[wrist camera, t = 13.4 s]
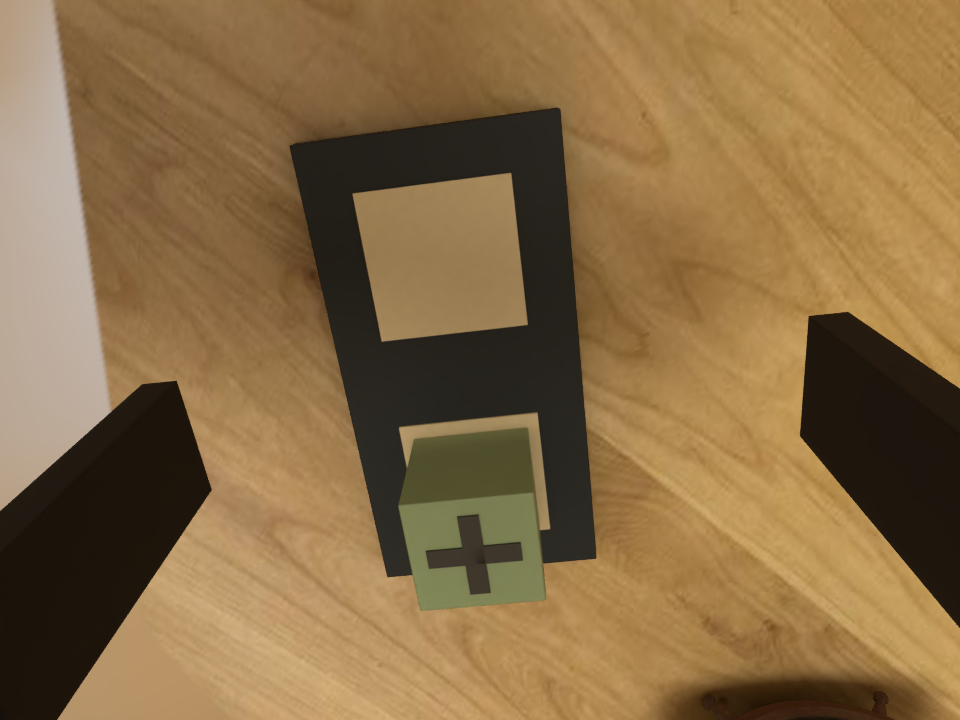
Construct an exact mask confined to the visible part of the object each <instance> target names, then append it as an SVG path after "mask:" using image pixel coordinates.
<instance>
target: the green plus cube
mask: <svg viewBox="0 0 960 720" xmlns="http://www.w3.org/2000/svg"><path fill="white" fill-rule="evenodd" d="M398 507H399V512H400V517H401V521H402V526H403V531H404V536H405V541H406V545H407V550H408V555H409V560H410V564H411V569H412V574H413V579H414V583H415V588H416V593H417V598H418V603H419V607H420V610H421V611H426V610H438V609H450V608H462V607H473V606H485V605H497V604H508V603H520V602H532V601H544V600H546V589H545V579H544V568H543V557H542V546H541V535H540V524H539V516H538V507H537V499H536V490H535V482H534V473H533V465H532V456H531V448H530V439H529V430H528V428H519V429H510V430H500V431H490V432H481V433H471V434H461V435H452V436H442V437H433V438H423V439H415V440H414V441H413V445H412V450H411V454H410V458H409V462H408V467H407V471H406V475H405V480H404V484H403V488H402V493H401V497H400V501H399V506H398Z"/></svg>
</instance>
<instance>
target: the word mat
mask: <svg viewBox="0 0 960 720" xmlns="http://www.w3.org/2000/svg"><path fill="white" fill-rule="evenodd" d="M290 150H291V155H292V159H293V164H294V168H295V172H296V177H297V181H298V186H299V190H300V194H301V199H302V203H303V208H304V212H305V216H306V221H307V225H308V230H309V234H310V238H311V243H312V247H313V252H314V256H315V260H316V265H317V269H318V274H319V278H320V282H321V287H322V291H323V296H324V300H325V305H326V309H327V313H328V318H329V322H330V327H331V331H332V335H333V340H334V344H335V349H336V353H337V357H338V362H339V366H340V371H341V375H342V379H343V384H344V388H345V393H346V397H347V401H348V406H349V410H350V415H351V419H352V423H353V428H354V432H355V437H356V441H357V445H358V450H359V454H360V459H361V463H362V467H363V472H364V476H365V481H366V485H367V489H368V494H369V498H370V503H371V507H372V512H373V516H374V520H375V525H376V529H377V534H378V538H379V542H380V547H381V551H382V556H383V560H384V564H385V569H386V573H387V577H396V576H407V575H413V574H412V569H411V564H410V560H409V555H408V550H407V545H406V541H405V536H404V531H403V526H402V521H401V517H400V512H399V507H398V506H399V501H400V497H401V493H402V488H403V484H404V480H405V475H406V471H407V467H408V462H409V458H410V454H411V450H412V445H413V441H414V440H415V439H423V438H433V437H442V436H452V435H461V434H471V433H481V432H490V431H500V430H510V429H519V428H528V430H529V439H530V448H531V456H532V465H533V473H534V482H535V490H536V499H537V507H538V516H539V524H540V535H541V546H542V557H543V563H553V562H564V561H576V560H587V559H596V546H595V534H594V521H593V509H592V497H591V484H590V472H589V459H588V447H587V434H586V422H585V410H584V397H583V385H582V372H581V360H580V347H579V335H578V322H577V310H576V298H575V285H574V273H573V260H572V248H571V235H570V223H569V211H568V198H567V186H566V173H565V161H564V148H563V136H562V124H561V111H560V109H559V108H551V109H544V110H537V111H529V112H522V113H515V114H507V115H500V116H493V117H485V118H478V119H471V120H464V121H456V122H449V123H442V124H434V125H427V126H420V127H412V128H405V129H398V130H391V131H383V132H376V133H369V134H361V135H354V136H347V137H340V138H332V139H325V140H318V141H310V142H303V143H296V144H293V145H290Z"/></svg>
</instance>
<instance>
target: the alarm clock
mask: <svg viewBox="0 0 960 720" xmlns="http://www.w3.org/2000/svg"><path fill="white" fill-rule="evenodd" d="M873 699H874V701H875V704H874V707H873V709H872V711H869V710H866V709H862V708H859V707H855V706H850V705H846V704H840V703H834V702H827V701H815V700H797V701H785V702H779V703H774V704H770V705H766V706H762V707H759V708H757V709H754V710H752V711H749V712H747V713H745V714H743V715H741V716H740V717H738V718H737V717H735V716H734V715H732V714H730V713H729V712H727V711H726V710H724V709H723V708H721V707H720V706H718V705H717V704H715V699H714V698H713V697H712V696H710V695H707V696H704V697H703V699H702V705H703V707H704V708H706V709H710V710H711V711H712V713H713V714H714V715H715V716H716V718H717V719H718V720H894V719H892V718H889V717H887V713H886V706H885V704H887V703H888V701H889V699H888V696H887V695H886V694H885V693H884V692H881V691H876V692H874V694H873Z"/></svg>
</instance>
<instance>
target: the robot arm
mask: <svg viewBox="0 0 960 720" xmlns="http://www.w3.org/2000/svg"><path fill="white" fill-rule="evenodd" d="M800 437H801V438H802V439H803V440H804V441H805V443H806V444H807V445H808V446H809V447H810V449H811V450H812V451H813V452H814V453H815V455H816V456H817V457H818V458H819V459H820V461H821V462H822V463H823V464H824V465H825V467H826V468H827V469H828V470H829V471H830V473H831V474H832V475H833V476H834V477H835V479H836V480H837V481H838V482H839V483H840V485H841V486H842V487H843V488H844V489H845V491H846V492H847V493H848V494H849V495H850V497H851V498H852V499H853V500H854V501H855V503H856V504H857V505H858V506H859V507H860V509H861V510H862V511H863V512H864V513H865V515H866V516H867V517H868V518H869V519H870V521H871V522H872V523H873V524H874V525H875V527H876V528H877V529H878V530H879V531H880V533H881V534H882V535H883V536H884V538H885V539H886V540H887V541H888V542H889V544H890V545H891V546H892V547H893V548H894V550H895V551H896V552H897V553H898V554H899V556H900V557H901V558H902V559H903V560H904V562H905V563H906V564H907V565H908V566H909V568H910V569H911V570H912V571H913V572H914V574H915V575H916V576H917V577H918V578H919V580H920V581H921V582H922V583H923V584H924V586H925V587H926V588H927V589H928V590H929V592H930V593H931V594H932V595H933V596H934V598H935V599H936V600H937V601H938V602H939V604H940V605H941V606H942V607H943V608H944V610H945V611H946V612H947V613H948V614H949V616H950V617H951V618H952V619H953V620H954V622H955V623H956V624H957V625H958V626H959V628H960V389H959V388H958V387H957V386H955V385H954V384H952V383H951V382H949V381H948V380H946V379H945V378H943V377H942V376H941V375H939V374H938V373H936V372H935V371H933V370H932V369H930V368H929V367H927V366H926V365H925V364H923V363H922V362H920V361H919V360H917V359H916V358H914V357H913V356H911V355H910V354H909V353H907V352H906V351H904V350H903V349H901V348H900V347H898V346H897V345H895V344H894V343H893V342H891V341H890V340H888V339H887V338H885V337H884V336H882V335H881V334H879V333H878V332H876V331H875V330H874V329H872V328H871V327H869V326H868V325H866V324H865V323H863V322H862V321H860V320H859V319H858V318H856V317H855V316H853V315H852V314H850V313H849V312H843V313H834V314H824V315H814V316H809V320H808V334H807V348H806V361H805V375H804V389H803V402H802V416H801V429H800ZM211 490H212V489H211V486H210V483H209V480H208V477H207V474H206V470H205V467H204V464H203V461H202V458H201V455H200V452H199V449H198V446H197V442H196V439H195V436H194V433H193V430H192V427H191V424H190V421H189V418H188V415H187V411H186V408H185V405H184V402H183V399H182V396H181V393H180V390H179V387H178V383H177V381H170V382H160V383H151V384H142V385H141V386H140V387H139V388H137V389H136V390H135V391H134V392H133V393H132V394H131V395H130V396H128V397H127V398H126V399H125V400H124V401H123V402H122V403H121V404H120V405H118V406H117V407H116V408H115V409H114V410H113V411H112V412H111V413H109V414H108V415H107V416H106V417H105V418H104V419H103V420H102V421H101V422H99V424H97V425H96V426H95V427H94V428H93V429H92V430H90V431H89V432H88V433H87V434H86V435H85V436H84V437H83V438H82V439H80V440H79V441H78V442H77V443H76V444H75V445H74V446H73V447H72V448H71V449H69V450H68V451H67V452H66V453H65V454H64V455H63V456H61V457H60V458H59V459H58V460H57V461H56V462H55V463H54V464H52V465H51V466H50V467H49V468H48V469H47V470H46V471H45V472H43V473H42V474H41V475H40V476H39V477H38V478H37V479H36V480H35V481H33V482H32V483H31V484H30V485H29V486H28V487H27V488H26V489H25V490H23V491H22V492H21V493H20V494H19V495H18V496H17V497H15V499H13V500H12V501H11V502H10V503H9V504H8V505H7V506H6V507H4V508H3V509H2V510H1V511H0V720H57V719H58V717H59V716H60V715H61V713H62V712H63V710H64V709H65V707H66V705H67V704H68V703H69V701H70V700H71V698H72V697H73V695H74V694H75V692H76V691H77V689H78V688H79V686H80V685H81V683H82V682H83V680H84V679H85V677H86V676H87V675H88V673H89V672H90V670H91V669H92V667H93V666H94V664H95V663H96V661H97V660H98V658H99V657H100V655H101V654H102V652H103V651H104V649H105V648H106V646H107V645H108V643H109V642H110V640H111V639H112V637H113V636H114V634H115V633H116V631H117V630H118V628H119V627H120V625H121V624H122V623H123V621H124V619H125V618H126V617H127V615H128V614H129V612H130V611H131V609H132V608H133V606H134V605H135V603H136V602H137V600H138V599H139V597H140V596H141V594H142V593H143V591H144V590H145V588H146V587H147V585H148V584H149V582H150V581H151V579H152V578H153V576H154V575H155V573H156V572H157V570H158V569H159V568H160V566H161V565H162V563H163V562H164V560H165V559H166V557H167V556H168V554H169V553H170V551H171V550H172V548H173V547H174V545H175V544H176V542H177V541H178V539H179V538H180V536H181V535H182V533H183V532H184V530H185V529H186V527H187V526H188V524H189V523H190V521H191V520H192V518H193V517H194V515H195V514H196V513H197V511H198V510H199V508H200V507H201V505H202V504H203V502H204V501H205V499H206V498H207V496H208V495H209V493H210V492H211Z"/></svg>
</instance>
